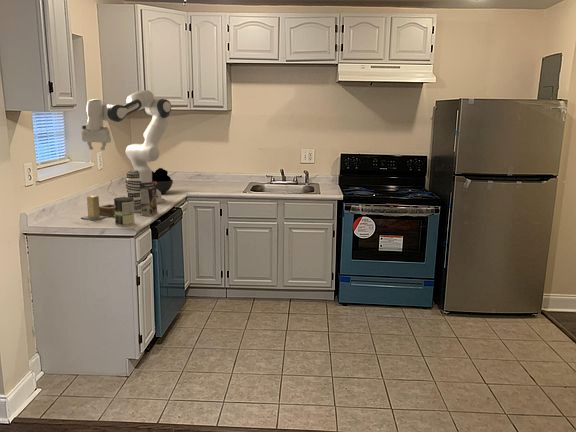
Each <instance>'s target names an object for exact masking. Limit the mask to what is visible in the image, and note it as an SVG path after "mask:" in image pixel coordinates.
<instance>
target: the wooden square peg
mask: <svg viewBox="0 0 576 432" xmlns="http://www.w3.org/2000/svg"><path fill="white" fill-rule="evenodd" d="M99 197H100V196H99V195H88V196H86V202H87V203H86V204H87V216H88V217H90V218H96V217H100V212H99V206H100V198H99Z"/></svg>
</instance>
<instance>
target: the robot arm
mask: <svg viewBox="0 0 576 432" xmlns="http://www.w3.org/2000/svg"><path fill="white" fill-rule="evenodd" d="M140 110H142V113H144V114H145V115H146V116H148V117H149V116H152V118H151V121H150V122H149V124H148V125H147V127H146V129H145V131H144V132H143V135H142V137H143V139H144V141H143V143H132V144H129V145H127V146H126V148H125V155H126V157H127V158H128V159H129V160H130V162H131V165H132V167H133V170H137V171H138V172H139V175H140V176H139V177H140V181H141V183H140V184H141V185H140V187H141V188H140V190H141V189H142V188H145V187H154V184H155V185H156V184H157V182H152V171H153V170H152V169H151V168H150V166H149V165H148V163H147V162H154V161H157V160H158V159H159V157H160V150H159V146H158V145H159V143H160V141H161V139H162V137H163V135H164V133H165V131H166V129H167V126H168V118H169V116H170V114H171V112H172V111H171V110H172V103H171V102H170V100H168V99H166V98H155V95H154V94H153V93H152V91H151V90H148V89H145V90H144V89H143V90H139V91H136V92H133V93H131V94H129V95H127V97H126V103H125V104H123V105H122V104H107V103H105V102H104V101H102V100H101V99H100V98H93V99H89V100H88V101H87V103H86V114H87V123H85V124H83V125H81V140H82V142H83V143H87V146H88V147H89V148H88V149H89V150H91V151H92V150H94V146H93V145H92V144H93V143H99V144H101V145H102V146H101V147H100V151H105V150H106V146H107V144H108V143H109V144H111V142H112V138H111V137H112V136H111V132H110V129H109V128H108V127H107V126H104V121H105V122H116V123H119V122H122V121H124V120H125V119H126V118H127V116H129V115H131V114H132V113H135V112H137V111H140ZM156 195H157V204H159V203H161V202H165V201H166V198H164V197H162V193H161V192H160V191H159V190H157V189H156ZM140 196H141V192H140Z"/></svg>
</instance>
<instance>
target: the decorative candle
mask: <svg viewBox="0 0 576 432" xmlns="http://www.w3.org/2000/svg"><path fill="white" fill-rule="evenodd" d="M139 176H140V175H139V172H138V171H137V170H134V169H130V170H127V172H126V179H125V183H126V184H125V186H126V187H125V188H126V193H127V197H131V198H134V213H138V212H141V196H140V192H141V190H140V188H141V187H140V185H141V184H140V183H141V181H140V177H139Z"/></svg>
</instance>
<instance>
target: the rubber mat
mask: <svg viewBox="0 0 576 432" xmlns="http://www.w3.org/2000/svg"><path fill="white" fill-rule="evenodd" d="M106 218H108V217H107V216H101V215H100V217H96V218H90V217H88V215H87V216H81V217H80V219H81V220H87V221H94V222H95V221H98V220H102V219H106Z"/></svg>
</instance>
